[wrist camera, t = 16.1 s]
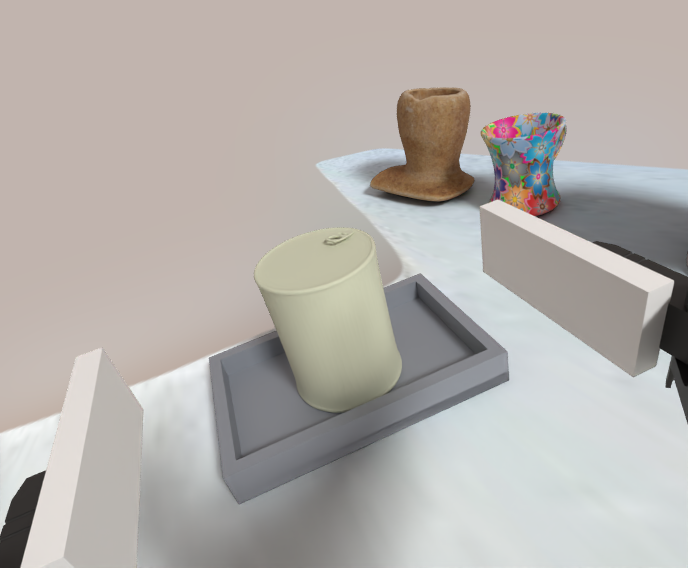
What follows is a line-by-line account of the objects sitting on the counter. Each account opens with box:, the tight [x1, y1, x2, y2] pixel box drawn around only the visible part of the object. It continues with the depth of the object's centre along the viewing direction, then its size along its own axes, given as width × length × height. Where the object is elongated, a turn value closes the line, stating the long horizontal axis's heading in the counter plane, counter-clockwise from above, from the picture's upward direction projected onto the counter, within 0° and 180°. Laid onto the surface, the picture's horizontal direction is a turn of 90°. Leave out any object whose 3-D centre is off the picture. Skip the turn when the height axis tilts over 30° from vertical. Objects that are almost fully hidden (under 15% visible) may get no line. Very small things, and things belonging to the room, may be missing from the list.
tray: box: [209, 273, 509, 504], centre depth 38 cm, size 22×14×3 cm, turn 110°
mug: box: [481, 113, 566, 216], centre depth 56 cm, size 12×9×11 cm
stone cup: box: [370, 88, 475, 201], centre depth 67 cm, size 15×12×15 cm
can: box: [254, 228, 402, 413], centre depth 36 cm, size 9×9×12 cm
